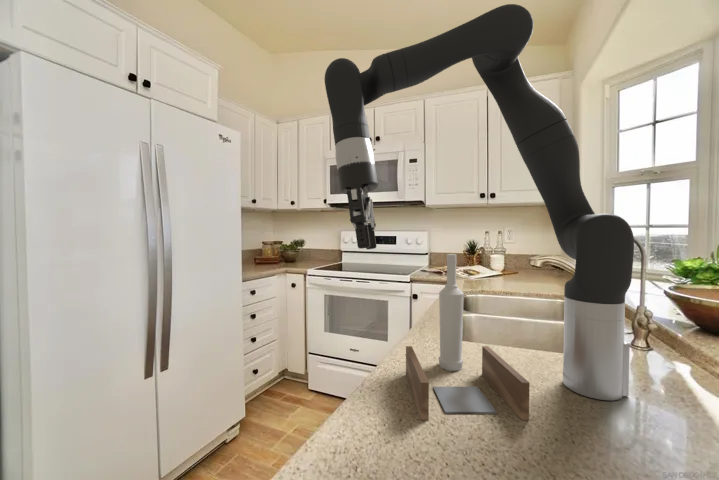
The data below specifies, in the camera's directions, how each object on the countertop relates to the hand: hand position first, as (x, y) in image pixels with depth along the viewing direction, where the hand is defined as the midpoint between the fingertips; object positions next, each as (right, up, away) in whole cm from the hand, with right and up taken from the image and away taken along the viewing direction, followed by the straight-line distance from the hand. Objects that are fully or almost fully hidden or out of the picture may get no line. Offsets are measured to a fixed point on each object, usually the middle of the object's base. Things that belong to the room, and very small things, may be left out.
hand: (368, 248), depth 61 cm
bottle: (+19, -27, +10) cm, 34 cm away
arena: (+17, -27, -2) cm, 32 cm away
